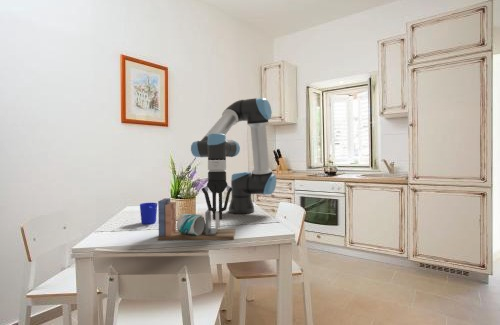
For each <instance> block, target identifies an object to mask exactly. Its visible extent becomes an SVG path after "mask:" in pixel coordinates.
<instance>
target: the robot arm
mask: <svg viewBox="0 0 500 325" xmlns="http://www.w3.org/2000/svg"><path fill="white" fill-rule="evenodd" d="M272 115H273V114H272V106H271V104H270V102H269V100H268V99H267V98H265V97H256V98H255V97H254V98H247V99H239V100H237V101H235V102H233V103H231V104H230V105H228V106H227V107H226V108H225V109H224V110H223V112H222V113H221V117H220V118H219V119H218V120H217V121H216V122H215V123H214V124H213V126H212V127H211V128H210V130H208V131H207V133H206V134H205V135H204V136H203V138H202V139H201V140H195V141H193V142H192V144H191V145H190V146H191V147H190V152H191V154H192V156H193V157H196V158H207V170H208V172H207V184H206V185H205V186H204V187H201V191H202V193H203V194H204V198H205V202H206V206H207V210H209V211H211V213H212V220H214V221H215V228H218V229H220V227H221V226H220V225H221V221H222V220H223V212H225V211H226V210H227V208H228V212H229V213H231V214H249V213H250V214H251V213H255V207H254V203H253V199H252V195H264V196H265V195H266V196H267V195H268V196H270V195H272V194H274V192H275V190H276V186H277V176H276V174H274V173H273V170H272V169H271V168H270V164H269V163H270V162H269V149H268V148H269V147H268V138H267V136H268V134H267V125H268V123H269V120H270V119H271V118H272ZM246 121H247V125H248V126H249V127H250V137H251V147H252V148H251V149H252V159H253V160H252V161H253V170H252V171H245V172H235V173H233V174H231V180H230V184H231V186H229V184H228V182H227V172H226V170H227V158H233V157H234V158H235V157H236V156H238V155H239V153H240V151H241V149H240V148H241V147H240V144H239V143H238V141H236V140H233V139H227V137H226V135H227V133H228V132H229V131H230V130H231V128H232V127H233V126H235V125H237V124H238V123H239V122H246ZM225 190H226V191H227V192H226V195H225V199H224V204H223V193H224V192H225ZM209 191H210V192H211V193H212V203H211V200H210V196H209V195H210V194H209ZM217 194H218V211H217ZM230 195H231V200H230V202H229V199H230ZM228 204H229V206H228Z"/></svg>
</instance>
